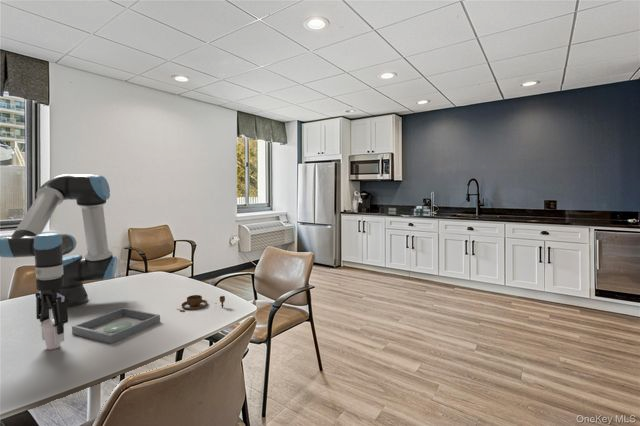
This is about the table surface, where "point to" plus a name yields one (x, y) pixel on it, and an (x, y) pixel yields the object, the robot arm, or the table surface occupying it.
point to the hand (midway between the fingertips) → (53, 340)
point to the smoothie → (49, 332)
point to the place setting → (197, 302)
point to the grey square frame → (115, 325)
